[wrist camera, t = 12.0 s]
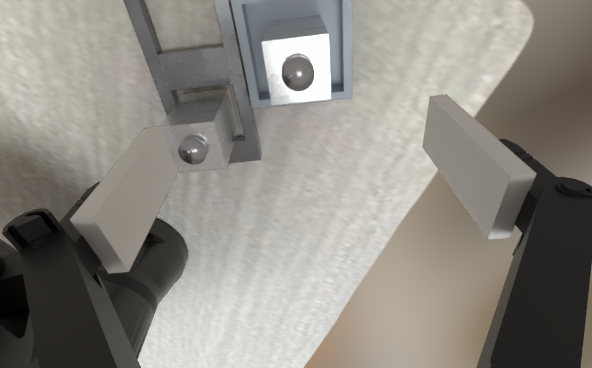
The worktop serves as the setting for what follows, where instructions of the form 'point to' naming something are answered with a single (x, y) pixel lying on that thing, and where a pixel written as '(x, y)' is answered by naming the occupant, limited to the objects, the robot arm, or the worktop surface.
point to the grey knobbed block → (201, 130)
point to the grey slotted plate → (200, 70)
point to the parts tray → (286, 5)
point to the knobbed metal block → (297, 60)
